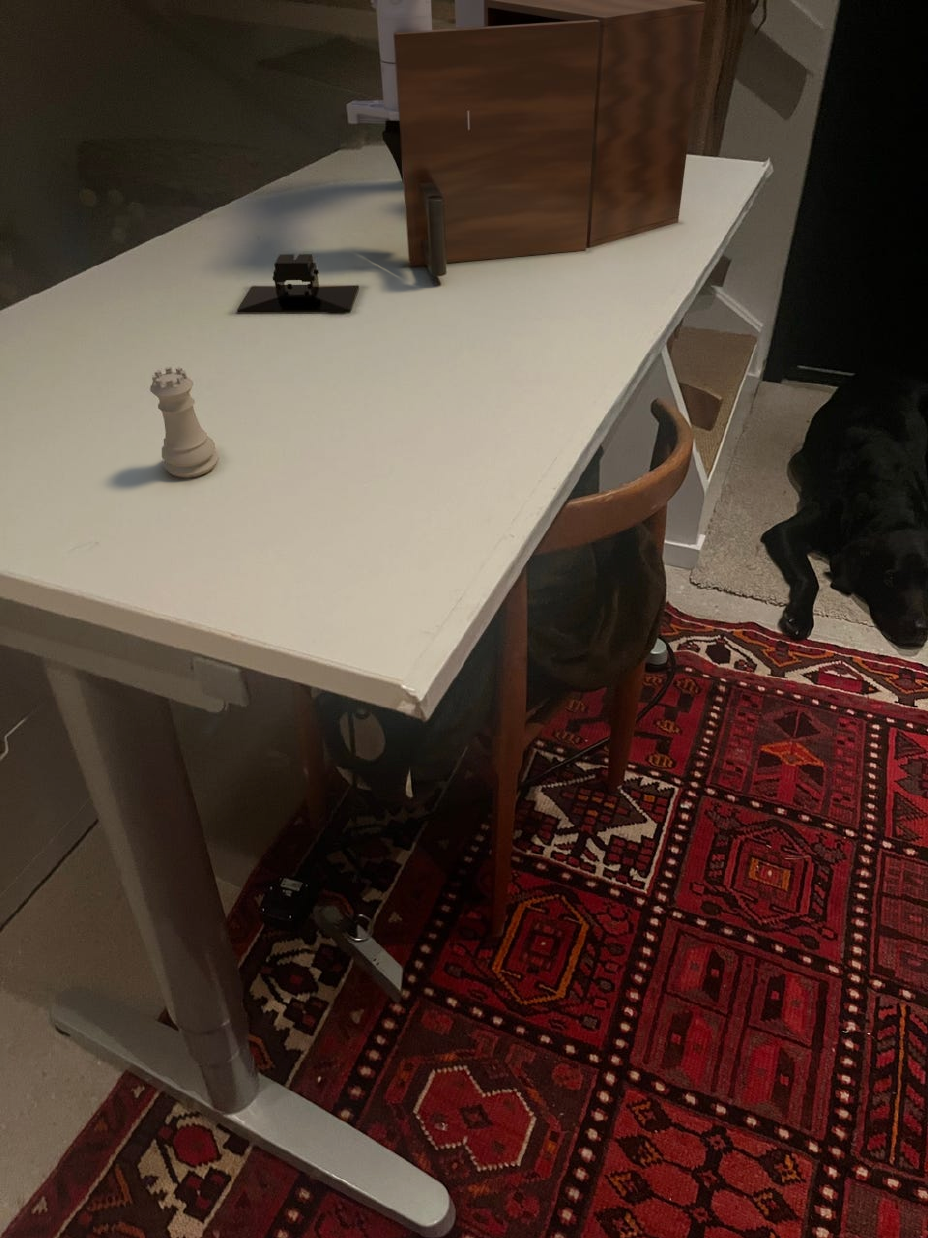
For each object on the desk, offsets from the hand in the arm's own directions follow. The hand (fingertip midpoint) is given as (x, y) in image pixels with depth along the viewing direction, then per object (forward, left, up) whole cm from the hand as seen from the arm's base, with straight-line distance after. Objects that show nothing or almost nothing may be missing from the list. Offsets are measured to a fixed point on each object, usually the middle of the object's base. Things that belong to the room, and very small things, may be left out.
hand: (415, 194), depth 105 cm
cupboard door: (+10, +5, -7) cm, 14 cm away
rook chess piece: (+30, -41, -7) cm, 51 cm away
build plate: (+4, -18, -7) cm, 20 cm away
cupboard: (+1, +25, -7) cm, 26 cm away
